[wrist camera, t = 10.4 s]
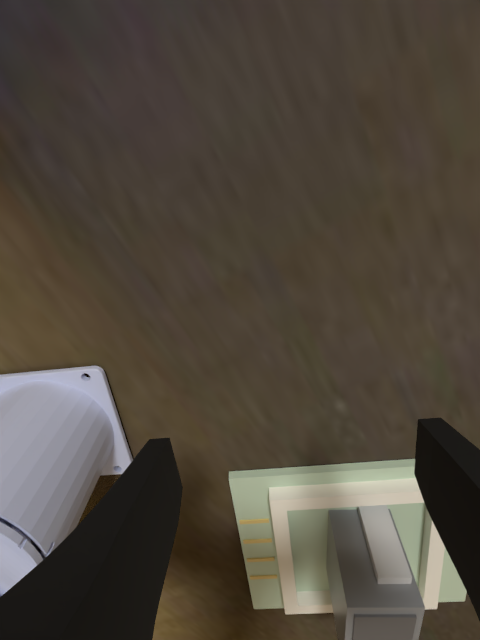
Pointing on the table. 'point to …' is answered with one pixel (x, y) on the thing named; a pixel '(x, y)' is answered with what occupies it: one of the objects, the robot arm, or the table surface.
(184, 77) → the table surface
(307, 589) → the board
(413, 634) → the plug
